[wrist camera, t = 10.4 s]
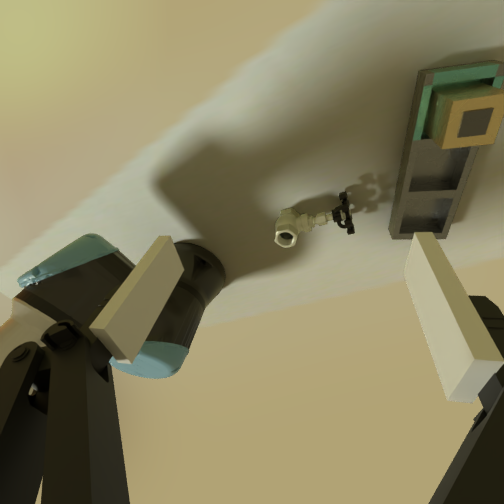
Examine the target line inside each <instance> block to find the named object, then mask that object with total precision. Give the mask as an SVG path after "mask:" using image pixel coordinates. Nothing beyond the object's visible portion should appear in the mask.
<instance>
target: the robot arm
mask: <svg viewBox="0 0 504 504" xmlns="http://www.w3.org/2000/svg"><path fill="white" fill-rule="evenodd" d="M404 277H405V280H406V283H407V285H408V288H409V291H410V294H411V297H412V300H413V303H414V306H415V309H416V312H417V314H418V317H419V320H420V323H421V326H422V329H423V332H424V335H425V337H426V340H427V343H428V346H429V349H430V352H431V355H432V358H433V360H434V363H435V366H436V369H437V372H438V375H439V378H440V381H441V383H442V386H443V389H444V392H445V395H446V398H447V400H448V401H456V402H465V403H473V402H474V400H475V399H476V398H477V396H479V398H480V401H481V403H482V405H483V409H482V410H481V411H480V412H479V413H478V415H477V416H476V417H475V418H474V421H475V422H474V424H473V426H472V428H471V429H470V431H469V433H468V434H467V436H466V438H465V440H464V442H463V443H462V445H461V447H460V449H459V450H458V452H457V454H456V456H455V458H454V459H453V461H452V463H451V465H450V466H449V468H448V470H447V472H446V473H445V476H444V477H443V479H442V481H441V482H440V484H439V486H438V488H437V489H436V491H435V493H434V495H433V496H432V498H431V500H430V502H429V504H504V315H503V314H502V312H501V311H500V309H499V308H498V306H496V305H495V304H494V303H493V302H492V301H490V300H489V299H488V298H487V297H485V296H468V295H467V293H466V291H465V290H464V288H463V286H462V284H461V282H460V281H459V279H458V277H457V276H456V273H455V272H454V270H453V268H452V266H451V265H450V263H449V261H448V259H447V257H446V256H445V254H444V252H443V250H442V248H441V247H440V245H439V243H438V241H437V240H436V238H435V236H434V234H433V232H414V236H413V240H412V243H411V247H410V251H409V255H408V259H407V262H406V266H405V270H404ZM17 282H18V283H19V286H20V287H22V288H23V287H24V289H23V290H22V291H21V292H20V293H19V294H18V295H16V296H15V297H14V298H13V299H12V315H11V318H10V319H9V320H7V321H6V322H5V323H4V324H3V325H2V326H1V327H0V504H35V502H36V498H37V495H38V491H39V488H40V484H41V480H42V477H43V483H42V496H41V504H130V502H129V493H128V487H127V478H126V471H125V464H124V456H123V449H122V442H121V434H120V427H119V419H118V412H117V405H116V397H115V390H114V382H113V375H112V368H111V365H112V366H113V367H115V368H117V369H119V370H121V371H123V372H126V373H128V374H131V375H135V376H139V377H145V378H154V379H156V378H158V379H159V378H167V377H170V376H172V375H174V374H175V373H177V372H178V370H179V369H180V368H181V366H182V364H183V362H184V359H185V357H186V356H187V355H188V353H189V348H190V345H191V343H192V340H193V338H194V335H195V333H196V330H197V328H198V325H199V323H200V320H201V318H202V315H203V312H204V310H205V308H206V307H207V306H208V304H209V303H210V302H211V301H212V300H213V299H214V298H215V297H216V296H217V295H218V294H219V293H220V291H221V289H222V287H223V284H224V282H225V271H224V268H223V266H222V264H221V263H220V261H219V260H218V259H217V258H216V257H215V256H214V255H213V254H212V253H210V252H209V251H207V250H206V249H204V248H202V247H199V246H197V245H193V244H189V243H176V244H174V243H173V241H172V238H171V236H159V237H158V238H157V239H156V241H155V242H154V243H153V245H152V246H151V247H150V248H149V250H148V251H147V252H146V254H145V255H144V256H143V258H142V259H141V260H140V262H139V263H138V264H137V265H135V264H133V263H132V262H131V261H130V260H129V259H128V258H127V257H125V256H124V255H123V254H122V253H121V252H120V251H119V249H118V248H115V247H114V246H113V245H111V244H110V243H109V242H108V241H106V240H105V239H104V238H103V237H101V236H100V235H98V234H93V233H90V234H86V235H83V236H82V237H80V238H78V239H77V240H75V241H74V242H72V243H70V244H69V245H67V246H66V247H64V248H63V249H61V250H60V251H58V252H57V253H55V254H54V255H52V256H51V257H49V258H47V259H46V260H44V261H43V262H41V263H40V264H39V265H37V266H35V267H34V268H33V269H31V270H30V271H28V272H26V273H25V274H23V275H22V276H20V277H19V278H18V280H17Z"/></svg>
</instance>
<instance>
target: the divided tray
mask: <svg viewBox="0 0 504 504" xmlns="http://www.w3.org/2000/svg"><path fill="white" fill-rule="evenodd" d="M503 80H504V62H501V61H496V60H492V61H485V62H478V63H471V64H464V65H457V66H450V67H443V68H436V69H428V70H421V71H418V76H417V82H416V87H415V92H414V97H413V103H412V108H411V113H410V118H409V124H408V129H407V134H406V139H405V144H404V150H403V155H402V160H401V165H400V171H399V176H398V181H397V186H396V191H395V197H394V202H393V207H392V212H391V218H390V223H389V228H388V229H389V232H390V235H391V238H392V239H413V236H414V232H433V234H434V236H435V238H436V239H446V237H447V235H448V232H449V229H450V226H451V223H452V221H453V218H454V215H455V212H456V209H457V207H458V204H459V201H460V198H461V195H462V192H463V190H464V187H465V184H466V181H467V178H468V176H469V173H470V170H471V167H472V164H473V162H474V159H475V156H476V153H477V150H478V148H479V145H478V146H468V147H459V148H450V149H441V148H440V147H439V146H438V145H437V144H436V143H435V142H434V141H433V140H432V139H431V138H430V137H429V136H428V135H427V134H426V133H425V132H424V131H423V126H424V122H425V117H426V113H427V108H428V104H429V99H430V95H431V90H432V88H433V87H440V86H446V85H452V84H458V83H464V82H470V81H478V82H481V83H484V84H487V85H490V86H493V87H496V88H499V89H500V88H501V85H502V83H503Z"/></svg>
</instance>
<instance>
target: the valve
mask: <svg viewBox="0 0 504 504" xmlns="http://www.w3.org/2000/svg"><path fill="white" fill-rule="evenodd" d="M339 198H340V200H342V205H341V206H338V207H336V208H335V209H334V210H332V213H331V214H327V215H326V213H325V212H323V213H319V214H316V217H313V216H312V215H311V216H309V214H308V213H305V214H301V217H300V214H299V213H298V212H296V211H295V210H294V209H293V208H288V209H285V210H281V213H280V217H279V218H278V220H277V221H276V224H275V232H276V236H275V242H276V243H277V244H278V245H280V246H281V247H283V248H288V247H292V246H295V244H296V241H297V237H298V234H299V233H300V232H301V231H304V232H310V231H312V227H315V224H318V225H319V226H321V225H325V224H327V223H328V222H327V221H329V220H334V222H337V224H338V226H339V227H341V228H347V233H348V235H349V234H354V233H355V231H354V230H355V229H354V225H353V223H352V215H351V212H350V209H349V201H348V200H347V193H346V191H345V192H342V193H339ZM344 219H346V220H344ZM343 220H344V222H345V225H342V224H341V221H343Z"/></svg>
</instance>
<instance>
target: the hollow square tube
mask: <svg viewBox="0 0 504 504" xmlns="http://www.w3.org/2000/svg"><path fill="white" fill-rule="evenodd" d="M503 115H504V90H502V89H499V88H496V87H493V86H490V85H487V84H484V83H481V82H478V81H470V82H464V83H458V84H452V85H446V86H440V87H433V88H432V90H431V95H430V99H429V104H428V108H427V113H426V117H425V122H424V126H423V131H424V132H425V133H426V134H427V135H428V136H429V137H430V138H431V139H432V140H433V141H434V142H435V143H436V144H437V145H438V146H439V147H440V148H441V149H450V148H459V147H468V146H478V145H487V144H494V141H495V138H496V136H497V133H498V130H499V127H500V124H501V121H502V118H503Z"/></svg>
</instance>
